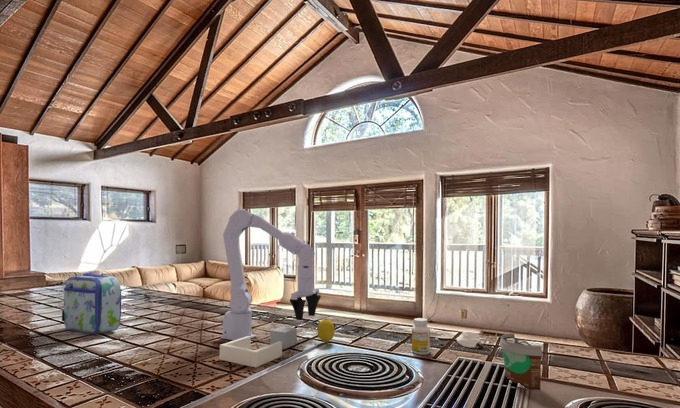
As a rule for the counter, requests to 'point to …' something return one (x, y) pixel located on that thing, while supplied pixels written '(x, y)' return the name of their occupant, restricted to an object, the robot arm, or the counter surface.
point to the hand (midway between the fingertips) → (305, 317)
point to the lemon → (326, 330)
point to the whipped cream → (469, 339)
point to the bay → (249, 352)
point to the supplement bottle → (420, 337)
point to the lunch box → (92, 303)
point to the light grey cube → (284, 336)
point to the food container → (522, 361)
